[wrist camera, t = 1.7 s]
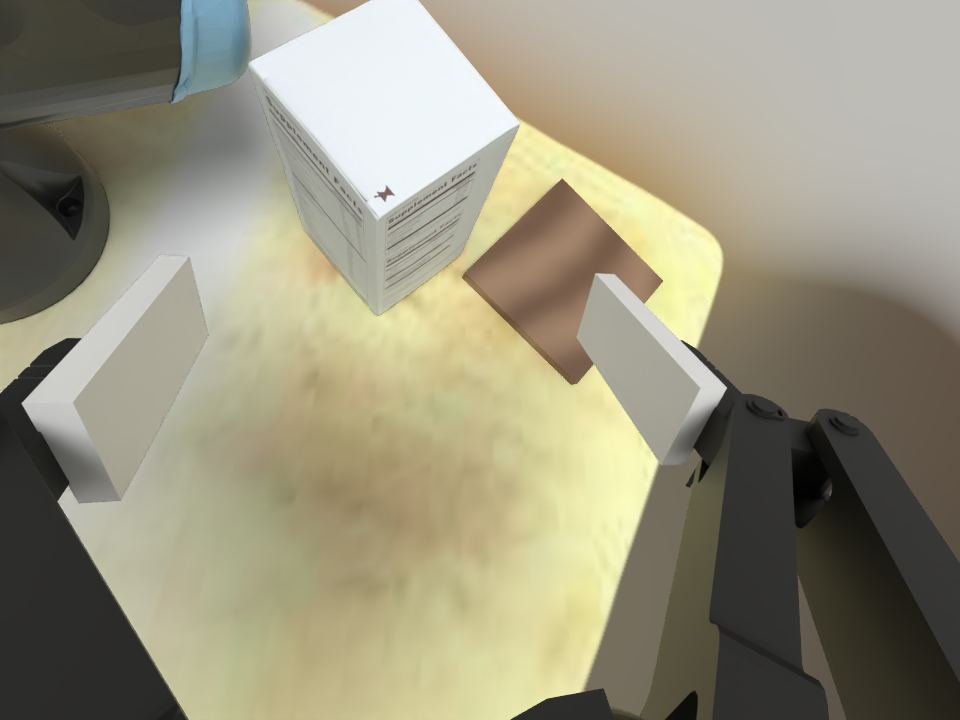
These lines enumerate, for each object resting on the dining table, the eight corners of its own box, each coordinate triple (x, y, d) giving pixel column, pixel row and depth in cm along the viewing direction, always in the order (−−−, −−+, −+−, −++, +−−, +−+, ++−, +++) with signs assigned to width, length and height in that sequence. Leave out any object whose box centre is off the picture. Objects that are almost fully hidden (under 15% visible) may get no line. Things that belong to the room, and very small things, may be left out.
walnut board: (462, 277, 38) (465, 272, 37) (556, 185, 42) (562, 178, 41) (571, 384, 39) (577, 383, 38) (655, 285, 43) (663, 281, 41)
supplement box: (464, 255, 39) (530, 126, 23) (377, 320, 36) (382, 227, 20) (391, 167, 38) (406, -27, 22) (298, 226, 36) (239, 55, 20)
